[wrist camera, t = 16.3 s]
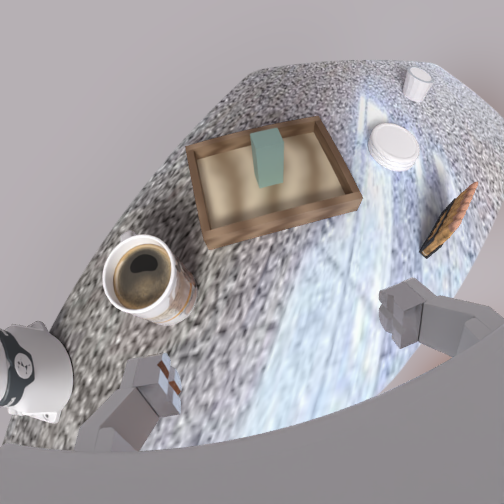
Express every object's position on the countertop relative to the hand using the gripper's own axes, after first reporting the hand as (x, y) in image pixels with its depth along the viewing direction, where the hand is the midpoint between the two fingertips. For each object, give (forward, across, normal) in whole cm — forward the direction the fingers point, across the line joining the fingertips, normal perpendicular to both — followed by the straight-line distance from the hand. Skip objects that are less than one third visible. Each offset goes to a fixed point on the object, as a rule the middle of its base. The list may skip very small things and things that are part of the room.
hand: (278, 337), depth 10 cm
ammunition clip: (+29, -32, +15) cm, 46 cm away
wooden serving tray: (+41, -7, +3) cm, 41 cm away
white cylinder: (+53, -49, -9) cm, 73 cm away
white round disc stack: (+42, -32, +3) cm, 53 cm away
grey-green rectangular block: (+40, -7, +2) cm, 41 cm away
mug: (+32, +13, +12) cm, 36 cm away
